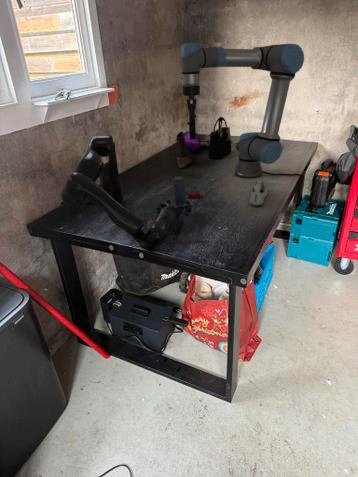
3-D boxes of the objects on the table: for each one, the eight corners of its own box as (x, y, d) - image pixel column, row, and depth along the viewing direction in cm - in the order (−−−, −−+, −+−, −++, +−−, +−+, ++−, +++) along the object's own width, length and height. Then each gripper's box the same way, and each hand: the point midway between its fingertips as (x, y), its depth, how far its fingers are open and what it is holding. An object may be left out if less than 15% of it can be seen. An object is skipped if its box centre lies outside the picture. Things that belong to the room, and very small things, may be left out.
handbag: (219, 160, 215) (219, 120, 202) (207, 158, 219) (206, 119, 207) (232, 152, 230) (233, 114, 217) (220, 150, 234) (221, 113, 222)
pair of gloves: (198, 150, 238) (197, 143, 235) (183, 143, 258) (183, 136, 256) (233, 144, 247) (234, 137, 245) (217, 137, 268) (217, 131, 265)
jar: (174, 209, 154) (171, 177, 146) (182, 206, 156) (181, 175, 148) (178, 212, 150) (176, 180, 142) (187, 210, 152) (186, 178, 144)
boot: (194, 157, 223) (193, 127, 213) (188, 169, 203) (187, 135, 193) (182, 157, 225) (180, 127, 215) (174, 168, 205) (172, 136, 194)
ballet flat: (269, 188, 169) (270, 173, 165) (265, 208, 149) (266, 191, 145) (252, 187, 171) (253, 172, 167) (246, 206, 151) (247, 190, 147)
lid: (201, 196, 165) (201, 192, 164) (193, 199, 162) (193, 195, 161) (194, 193, 169) (194, 189, 168) (186, 196, 166) (186, 192, 165)
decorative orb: (204, 151, 235) (204, 129, 228) (194, 156, 225) (193, 134, 217) (186, 149, 243) (186, 128, 235) (175, 154, 232) (174, 132, 224)
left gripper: (152, 224, 137) (164, 208, 151) (184, 228, 134) (194, 210, 147) (150, 208, 134) (162, 193, 147) (184, 211, 130) (193, 195, 143)
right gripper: (183, 82, 151) (185, 130, 162) (181, 88, 129) (183, 142, 140) (199, 81, 151) (200, 129, 161) (200, 87, 129) (201, 142, 140)
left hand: (178, 202), depth 147 cm, fingers open, 8 cm apart
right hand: (192, 135), depth 151 cm, fingers open, 13 cm apart
